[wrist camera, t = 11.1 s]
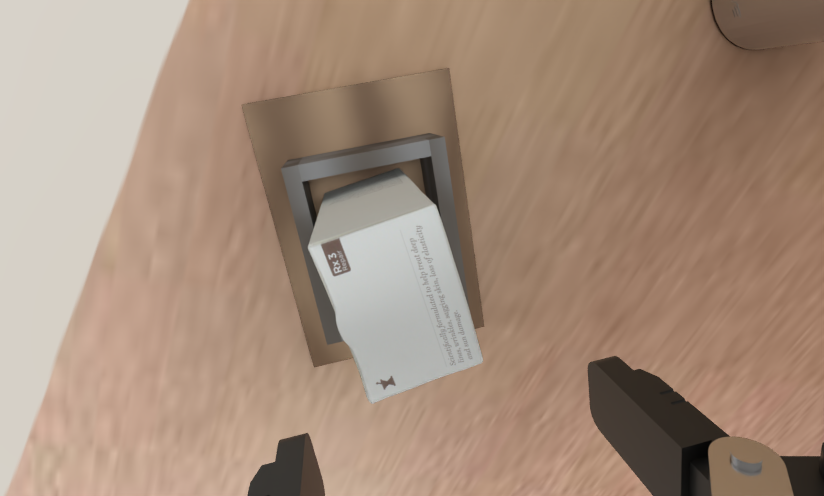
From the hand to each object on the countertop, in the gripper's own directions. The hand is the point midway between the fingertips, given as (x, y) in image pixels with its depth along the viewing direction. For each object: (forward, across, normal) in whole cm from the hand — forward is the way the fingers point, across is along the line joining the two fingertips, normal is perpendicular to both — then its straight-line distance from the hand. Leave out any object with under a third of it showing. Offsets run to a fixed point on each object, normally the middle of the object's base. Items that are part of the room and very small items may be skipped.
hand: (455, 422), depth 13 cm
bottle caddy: (+23, 0, 0) cm, 23 cm away
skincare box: (+22, 0, 0) cm, 23 cm away
